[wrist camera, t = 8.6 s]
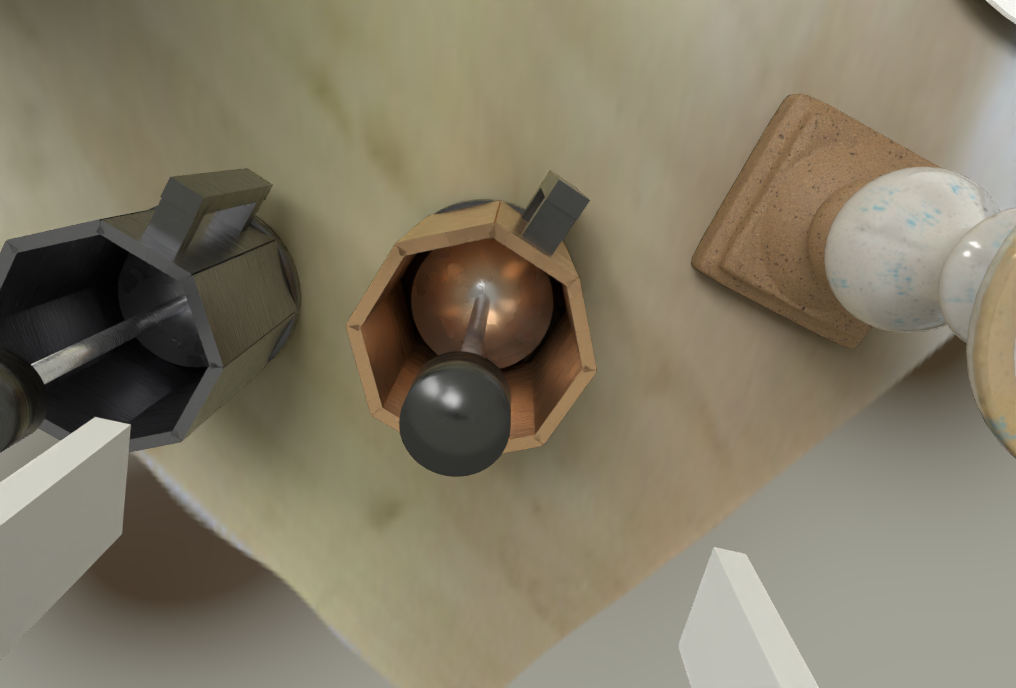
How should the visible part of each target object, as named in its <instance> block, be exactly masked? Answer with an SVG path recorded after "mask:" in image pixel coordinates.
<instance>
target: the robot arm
mask: <svg viewBox="0 0 1016 688" xmlns="http://www.w3.org/2000/svg"><path fill="white" fill-rule="evenodd" d="M130 429H131V424H126V423H121V422H116V421H112V420H107V419H102V418H97V417H94V418H93V419H92V420H90V421H89V422H87V423H86V424H84V425H83V426H81V427H80V428H78V429H77V430H76V431H74V432H73V433H71V434H70V435H68V436H67V437H65V438H64V439H63V440H61V441H60V442H58V443H57V444H55V445H54V446H53V447H51V448H49V449H48V450H47V451H45V452H44V453H42V454H41V455H39V456H38V457H37V458H35V459H33V460H32V461H31V462H30V463H28V464H26V465H25V466H23V467H22V468H20V469H19V470H18V471H16V472H15V473H13V474H12V475H10V476H9V477H8V478H6V479H5V480H3V481H2V482H0V659H1V658H2V657H3V656H4V655H5V654H6V653H7V652H8V651H9V650H10V649H11V648H12V647H13V646H14V645H15V644H16V643H17V642H18V641H19V640H20V639H21V638H22V637H23V636H24V635H25V633H26V632H28V630H29V629H30V628H31V627H32V626H33V625H34V624H35V623H36V622H37V621H38V620H39V619H40V618H41V617H42V616H43V615H44V614H45V613H46V612H47V611H48V610H49V609H50V608H51V607H52V606H53V605H54V604H55V602H56V601H57V600H58V599H59V598H60V597H61V596H62V595H63V594H64V593H65V592H66V591H67V590H68V589H69V588H70V587H71V586H72V585H73V584H74V583H75V582H76V581H77V580H78V579H79V578H80V577H81V576H82V575H83V574H84V573H85V571H86V570H87V569H88V568H89V567H90V566H91V565H92V564H93V563H94V562H95V561H96V560H97V559H98V558H99V557H100V556H101V555H102V554H103V553H104V552H105V551H106V550H107V549H108V548H109V547H110V546H111V545H112V544H113V543H114V541H116V539H117V538H118V537H119V536H120V535H121V534H122V525H123V513H124V500H125V489H126V477H127V464H128V453H129V441H130ZM678 648H679V651H680V654H681V657H682V661H683V664H684V667H685V670H686V673H687V676H688V679H689V682H690V685H691V688H819V687H818V685H817V683H816V682H815V680H814V678H813V676H812V674H811V673H810V671H809V669H808V667H807V665H806V663H805V661H804V659H803V658H802V656H801V654H800V652H799V650H798V648H797V647H796V645H795V643H794V641H793V639H792V637H791V636H790V634H789V632H788V630H787V628H786V626H785V625H784V623H783V621H782V620H781V617H780V616H779V614H778V612H777V610H776V608H775V606H774V605H773V603H772V601H771V599H770V597H769V595H768V594H767V592H766V590H765V588H764V586H763V584H762V583H761V581H760V579H759V577H758V575H757V573H756V572H755V570H754V568H753V566H752V564H751V562H750V561H749V559H748V557H747V555H746V554H744V553H739V552H735V551H730V550H725V549H720V548H716V547H714V548H713V550H712V553H711V556H710V558H709V561H708V564H707V567H706V570H705V572H704V575H703V578H702V581H701V583H700V586H699V589H698V592H697V594H696V597H695V600H694V603H693V605H692V608H691V611H690V614H689V617H688V619H687V622H686V625H685V628H684V630H683V633H682V636H681V639H680V642H679V644H678Z"/></svg>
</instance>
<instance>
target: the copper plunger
mask: <svg viewBox="0 0 1016 688" xmlns="http://www.w3.org/2000/svg"><path fill="white" fill-rule="evenodd" d="M411 306H412V313H413V318H414V321H415V324H416V327H417V329H418V331H419V333H420V335H421V336H422V338H423V339H424V341H425V342H426V343H427V345H428V346H429V347H430V348H431V349H432V350H433V351H434V352H435V353H436V354H437V355H438V356H436V357H434V358H433V359H431V360H429V361H428V362H427V363H426V364H425V365H424V366H423V367H422V368H421V369H420V370H419V371H418V373H417V374H416V376H415V378H414V380H413V383H412V385H411V387H410V389H409V392H408V394H407V396H406V399H405V401H404V403H403V406H402V408H401V412H400V418H399V430H400V435H401V438H402V441H403V444H404V445H405V447H406V449H407V451H408V452H409V454H410V455H411V456H412V457H413V458H414V459H415V460H416V461H417V462H418V463H419V464H420V465H422V466H423V467H425V468H426V469H428V470H430V471H432V472H435V473H438V474H441V475H445V476H453V477H455V476H468V475H472V474H475V473H478V472H480V471H482V470H484V469H486V468H488V467H489V466H490V465H492V464H493V463H494V462H495V461H496V460H497V459H498V458H499V457H500V456H501V454H502V453H503V451H504V450H505V448H506V445H507V443H508V440H509V436H510V430H511V391H510V387H509V384H508V382H507V379H506V377H505V376H504V374H503V373H502V371H501V370H500V368H504V367H507V366H510V365H512V364H515V363H516V362H518V361H520V360H522V359H523V358H524V357H526V356H527V355H529V354H530V353H531V352H532V351H533V350H534V349H535V348H536V347H537V345H538V344H539V343H540V342H541V340H542V339H543V337H544V335H545V334H546V332H547V329H548V327H549V325H550V321H551V318H552V312H553V292H552V286H551V282H550V279H549V276H548V273H546V272H545V271H543V270H542V269H540V268H538V267H537V266H535V265H534V264H532V263H531V262H529V261H528V260H526V259H525V258H523V257H522V256H520V255H519V254H517V253H515V252H514V251H512V250H511V249H509V248H508V247H506V246H505V245H503V244H502V243H500V242H499V241H497V240H495V239H494V238H492V237H491V238H486V239H481V240H477V241H472V242H467V243H462V244H458V245H453V246H448V247H443V248H439V249H434V250H432V252H431V253H430V254H429V255H428V256H427V257H426V259H425V260H424V261H423V263H422V264H421V266H420V268H419V270H418V272H417V274H416V277H415V279H414V283H413V287H412V295H411Z"/></svg>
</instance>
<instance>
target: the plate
mask: <svg viewBox="0 0 1016 688" xmlns="http://www.w3.org/2000/svg"><path fill="white" fill-rule="evenodd" d="M985 1H987V2H988V3H989V4H990V5H991V6H992V7H994V8H995V9H996V10H997V11H998V12H999V13H1001V14H1002V15H1003V16H1004V17H1006V18H1007V19H1009V20H1010V21H1012V22H1013V23H1015V24H1016V0H985Z"/></svg>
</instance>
